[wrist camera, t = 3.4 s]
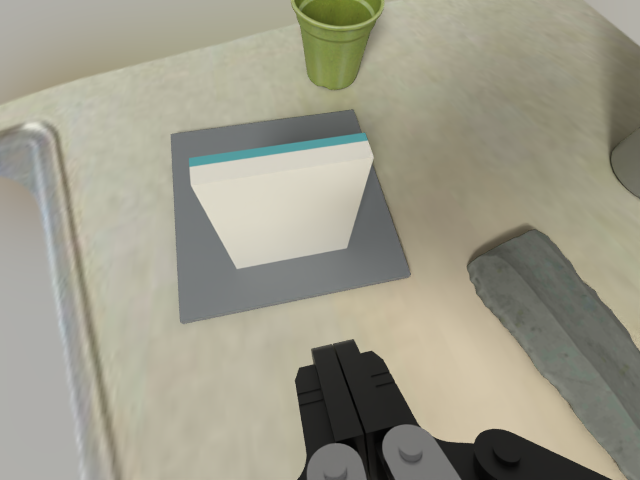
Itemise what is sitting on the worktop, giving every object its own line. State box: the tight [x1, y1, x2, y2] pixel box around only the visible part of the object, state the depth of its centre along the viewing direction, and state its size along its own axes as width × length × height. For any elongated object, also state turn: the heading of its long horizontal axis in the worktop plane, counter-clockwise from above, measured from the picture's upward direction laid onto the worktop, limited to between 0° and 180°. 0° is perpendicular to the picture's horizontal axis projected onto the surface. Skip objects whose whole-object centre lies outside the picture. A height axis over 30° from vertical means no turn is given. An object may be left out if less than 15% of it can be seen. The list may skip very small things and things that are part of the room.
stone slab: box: [467, 229, 640, 480], centre depth 28 cm, size 22×3×10 cm
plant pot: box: [291, 0, 384, 90], centre depth 37 cm, size 9×9×9 cm
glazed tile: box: [189, 133, 374, 269], centre depth 24 cm, size 2×10×13 cm, turn 102°
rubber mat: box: [171, 110, 411, 324], centre depth 33 cm, size 20×20×1 cm
